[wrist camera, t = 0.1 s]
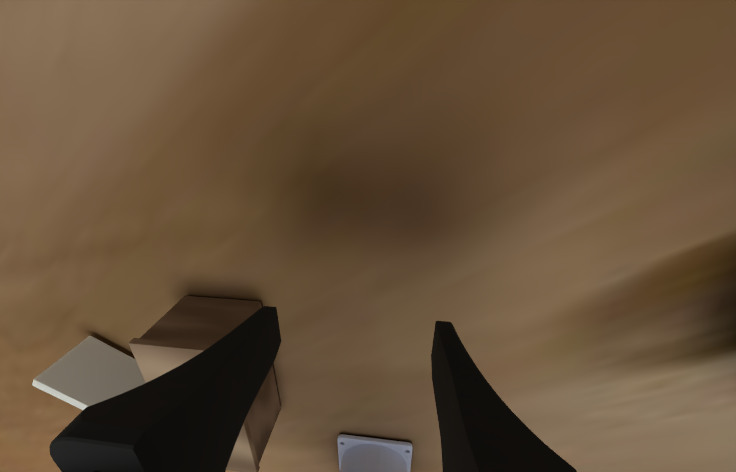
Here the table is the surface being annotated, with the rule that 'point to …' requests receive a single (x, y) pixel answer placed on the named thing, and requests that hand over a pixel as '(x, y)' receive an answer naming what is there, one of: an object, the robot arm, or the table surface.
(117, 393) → the door
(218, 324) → the cabinet
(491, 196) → the table surface
